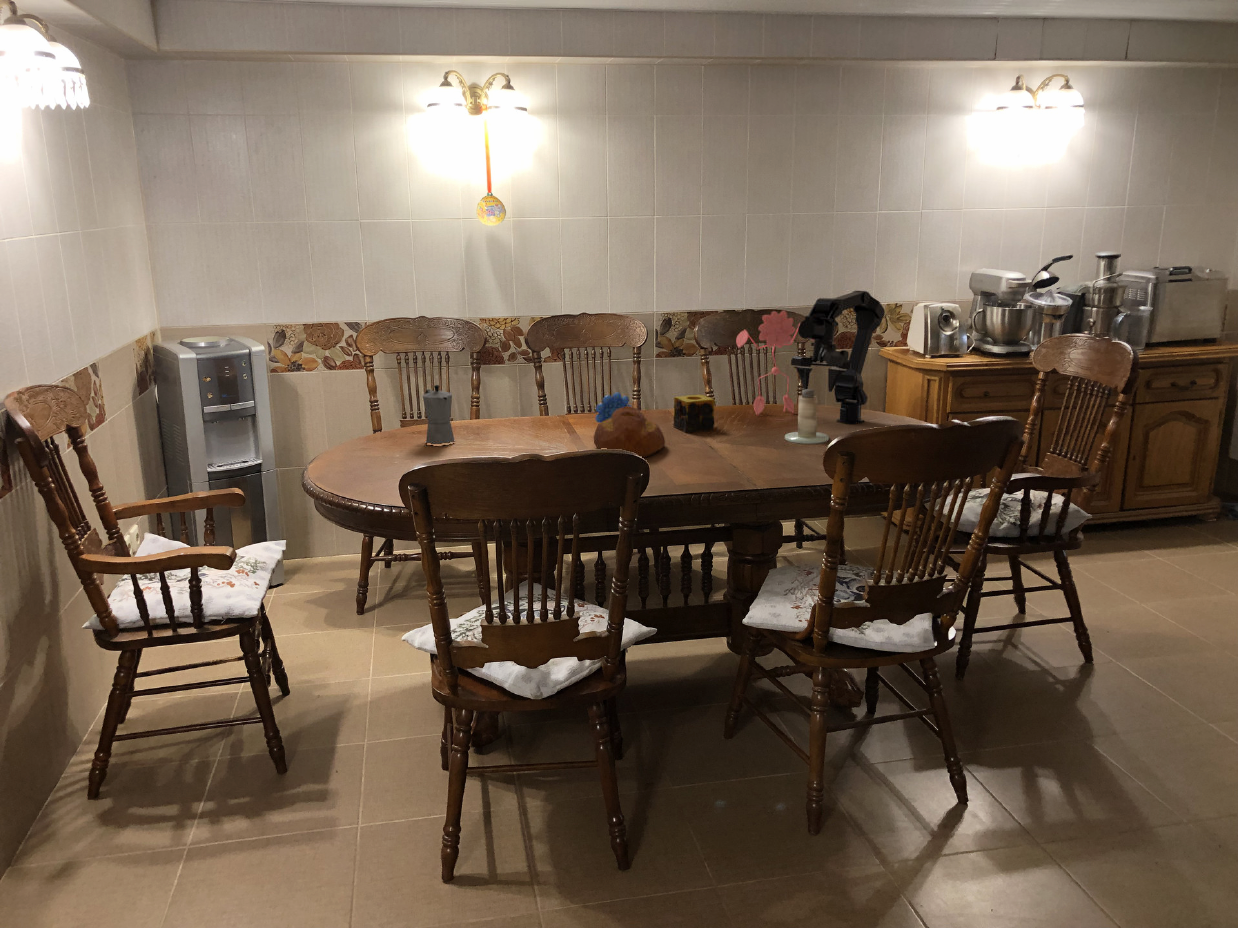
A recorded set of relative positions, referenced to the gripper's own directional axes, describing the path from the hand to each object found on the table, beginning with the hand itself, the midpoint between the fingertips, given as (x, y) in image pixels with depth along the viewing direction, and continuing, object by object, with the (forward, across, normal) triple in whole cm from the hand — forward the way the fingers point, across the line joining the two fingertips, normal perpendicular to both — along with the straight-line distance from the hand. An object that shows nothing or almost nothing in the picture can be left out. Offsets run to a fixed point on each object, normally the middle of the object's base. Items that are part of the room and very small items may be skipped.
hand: (818, 391), depth 302 cm
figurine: (+11, +4, +27) cm, 29 cm away
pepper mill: (+13, -6, -5) cm, 16 cm away
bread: (+21, -58, +10) cm, 62 cm away
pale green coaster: (+14, -6, -5) cm, 16 cm away
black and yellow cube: (+16, -29, +24) cm, 41 cm away
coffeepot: (+25, -105, +46) cm, 118 cm away
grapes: (+18, -51, +36) cm, 65 cm away
